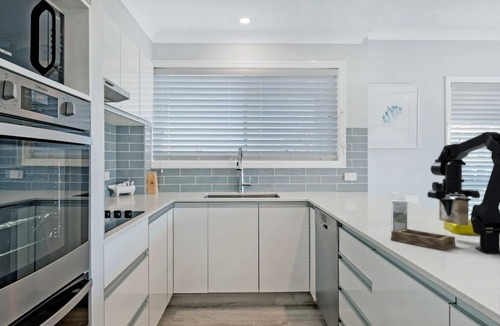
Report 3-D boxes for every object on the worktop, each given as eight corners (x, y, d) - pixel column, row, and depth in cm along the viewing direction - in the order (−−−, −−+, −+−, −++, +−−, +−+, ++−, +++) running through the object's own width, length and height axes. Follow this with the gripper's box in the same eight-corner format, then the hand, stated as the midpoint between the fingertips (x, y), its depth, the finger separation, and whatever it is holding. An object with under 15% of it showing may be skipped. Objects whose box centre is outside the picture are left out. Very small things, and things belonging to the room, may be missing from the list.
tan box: (468, 225, 135) (468, 201, 135) (459, 225, 135) (459, 201, 135) (447, 219, 147) (447, 198, 147) (439, 219, 147) (439, 198, 147)
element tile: (493, 236, 149) (493, 225, 149) (454, 235, 152) (454, 223, 152) (478, 229, 164) (478, 219, 164) (442, 228, 167) (442, 218, 167)
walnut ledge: (455, 246, 131) (455, 236, 131) (442, 250, 125) (442, 240, 125) (404, 236, 147) (404, 228, 147) (390, 240, 141) (390, 231, 141)
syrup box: (405, 232, 156) (405, 199, 155) (407, 235, 150) (407, 201, 150) (391, 231, 157) (391, 199, 157) (392, 234, 151) (392, 200, 151)
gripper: (461, 175, 150) (460, 212, 150) (419, 175, 148) (419, 213, 148) (481, 176, 139) (480, 216, 139) (436, 177, 137) (436, 217, 137)
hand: (453, 215), depth 141 cm, fingers closed on tan box, 4 cm apart
